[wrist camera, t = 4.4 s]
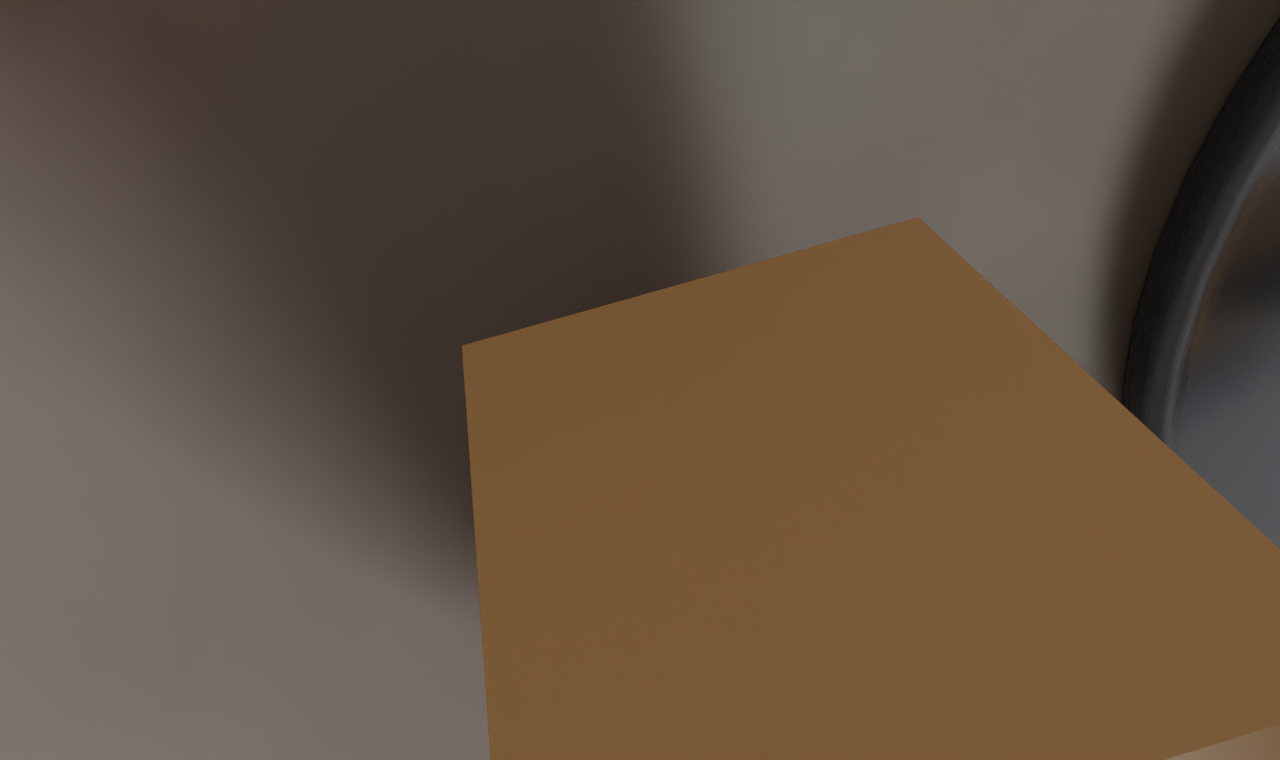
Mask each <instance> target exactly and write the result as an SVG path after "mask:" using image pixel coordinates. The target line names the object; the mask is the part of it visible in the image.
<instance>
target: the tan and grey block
mask: <svg viewBox="0 0 1280 760" xmlns="http://www.w3.org/2000/svg"><path fill="white" fill-rule="evenodd" d="M462 355H463V369H464V384H465V398H466V413H467V427H468V442H469V456H470V471H471V485H472V499H473V514H474V528H475V543H476V557H477V572H478V586H479V601H480V615H481V630H482V644H483V659H484V673H485V688H486V702H487V716H488V731H489V745H490V760H1280V549H1279V548H1278V547H1277V546H1276V545H1275V544H1274V543H1272V542H1271V541H1270V540H1269V539H1268V538H1267V537H1266V536H1265V535H1264V534H1263V533H1262V532H1260V531H1259V530H1258V529H1257V528H1256V527H1255V526H1254V525H1253V524H1252V523H1251V522H1250V521H1248V520H1247V519H1246V518H1245V517H1244V516H1243V515H1242V514H1241V513H1240V512H1239V511H1238V510H1236V509H1235V508H1234V507H1233V506H1232V505H1231V504H1230V503H1229V502H1228V501H1227V500H1226V499H1225V498H1223V497H1222V496H1221V495H1220V494H1219V493H1218V492H1217V491H1216V490H1215V489H1214V488H1213V487H1211V486H1210V485H1209V484H1208V483H1207V482H1206V481H1205V480H1204V479H1203V478H1202V477H1201V476H1199V475H1198V474H1197V473H1196V472H1195V471H1194V470H1193V469H1192V468H1191V467H1190V466H1189V465H1187V464H1186V463H1185V462H1184V461H1183V460H1182V459H1181V458H1180V457H1179V456H1178V455H1177V454H1175V453H1174V452H1173V451H1172V450H1171V449H1170V448H1169V447H1168V446H1167V445H1166V444H1165V443H1163V442H1162V441H1161V440H1160V439H1159V438H1158V437H1157V436H1156V435H1155V434H1154V433H1153V432H1151V431H1150V430H1149V429H1148V428H1147V427H1146V426H1145V425H1144V424H1143V423H1142V422H1141V421H1140V420H1138V419H1137V418H1136V417H1135V416H1134V415H1133V414H1132V413H1131V412H1130V411H1129V410H1128V409H1126V408H1125V407H1124V406H1123V405H1122V404H1121V403H1120V402H1119V401H1118V400H1117V399H1116V398H1114V397H1113V396H1112V395H1111V394H1110V393H1109V392H1108V391H1107V390H1106V389H1105V388H1104V387H1102V386H1101V385H1100V384H1099V383H1098V382H1097V381H1096V380H1095V379H1094V378H1093V377H1092V376H1090V375H1089V374H1088V373H1087V372H1086V371H1085V370H1084V369H1083V368H1082V367H1081V366H1080V365H1078V364H1077V363H1076V362H1075V361H1074V360H1073V359H1072V358H1071V357H1070V356H1069V355H1068V354H1066V353H1065V352H1064V351H1063V350H1062V349H1061V348H1060V347H1059V346H1058V345H1057V344H1056V343H1054V342H1053V341H1052V340H1051V339H1050V338H1049V337H1048V336H1047V335H1046V334H1045V333H1044V332H1043V331H1041V330H1040V329H1039V328H1038V327H1037V326H1036V325H1035V324H1034V323H1033V322H1032V321H1031V320H1029V319H1028V318H1027V317H1026V316H1025V315H1024V314H1023V313H1022V312H1021V311H1020V310H1019V309H1017V308H1016V307H1015V306H1014V305H1013V304H1012V303H1011V302H1010V301H1009V300H1008V299H1007V298H1005V297H1004V296H1003V295H1002V294H1001V293H1000V292H999V291H998V290H997V289H996V288H995V287H993V286H992V285H991V284H990V283H989V282H988V281H987V280H986V279H985V278H984V277H983V276H981V275H980V274H979V273H978V272H977V271H976V270H975V269H974V268H973V267H972V266H971V265H969V264H968V263H967V262H966V261H965V260H964V259H963V258H962V257H961V256H960V255H959V254H957V253H956V252H955V251H954V250H953V249H952V248H951V247H950V246H949V245H948V244H947V243H946V242H944V241H943V240H942V239H941V238H940V237H939V236H938V235H937V234H936V233H935V232H934V231H932V230H931V229H930V228H929V227H928V226H927V225H926V224H925V223H924V222H923V221H922V220H920V219H919V218H918V217H917V218H914V219H910V220H907V221H903V222H899V223H896V224H892V225H889V226H885V227H882V228H878V229H875V230H871V231H867V232H864V233H860V234H857V235H853V236H850V237H846V238H843V239H839V240H835V241H832V242H828V243H825V244H821V245H818V246H814V247H811V248H807V249H803V250H800V251H796V252H793V253H789V254H786V255H782V256H779V257H775V258H771V259H768V260H764V261H761V262H757V263H754V264H750V265H747V266H743V267H739V268H736V269H732V270H729V271H725V272H722V273H718V274H715V275H711V276H707V277H704V278H700V279H697V280H693V281H690V282H686V283H683V284H679V285H675V286H672V287H668V288H665V289H661V290H658V291H654V292H651V293H647V294H643V295H640V296H636V297H633V298H629V299H626V300H622V301H619V302H615V303H611V304H608V305H604V306H601V307H597V308H594V309H590V310H587V311H583V312H579V313H576V314H572V315H569V316H565V317H562V318H558V319H555V320H551V321H547V322H544V323H540V324H537V325H533V326H530V327H526V328H523V329H519V330H515V331H512V332H508V333H505V334H501V335H498V336H494V337H491V338H487V339H483V340H480V341H476V342H473V343H469V344H466V345H462Z"/></svg>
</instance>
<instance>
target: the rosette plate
mask: <svg viewBox="0 0 1280 760" xmlns="http://www.w3.org/2000/svg"><path fill="white" fill-rule="evenodd" d="M1124 407H1125V408H1126V409H1128V410H1129V411H1130V412H1131V413H1132V414H1133V415H1134V416H1135V417H1136V418H1137V419H1138V420H1140V421H1141V422H1142V423H1143V424H1144V425H1145V426H1146V427H1147V428H1148V429H1149V430H1150V431H1151V432H1153V433H1154V434H1155V435H1156V436H1157V437H1158V438H1159V439H1160V440H1161V441H1162V442H1163V443H1165V444H1166V445H1167V446H1168V447H1169V448H1170V449H1171V450H1172V451H1173V452H1174V453H1175V454H1177V455H1178V456H1179V457H1180V458H1181V459H1182V460H1183V461H1184V462H1185V463H1186V464H1187V465H1189V466H1190V467H1191V468H1192V469H1193V470H1194V471H1195V472H1196V473H1197V474H1198V475H1199V476H1201V477H1202V478H1203V479H1204V480H1205V481H1206V482H1207V483H1208V484H1209V485H1210V486H1211V487H1213V488H1214V489H1215V490H1216V491H1217V492H1218V493H1219V494H1220V495H1221V496H1222V497H1223V498H1225V499H1226V500H1227V501H1228V502H1229V503H1230V504H1231V505H1232V506H1233V507H1234V508H1235V509H1236V510H1238V511H1239V512H1240V513H1241V514H1242V515H1243V516H1244V517H1245V518H1246V519H1247V520H1248V521H1250V522H1251V523H1252V524H1253V525H1254V526H1255V527H1256V528H1257V529H1258V530H1259V531H1260V532H1262V533H1263V534H1264V535H1265V536H1266V537H1267V538H1268V539H1269V540H1270V541H1271V542H1272V543H1274V544H1275V545H1276V546H1277V547H1278V548H1279V549H1280V20H1279V22H1278V23H1277V25H1276V26H1275V28H1274V29H1273V31H1272V32H1271V34H1270V35H1269V37H1268V38H1267V40H1266V41H1265V43H1264V44H1263V46H1262V47H1261V49H1260V50H1259V52H1258V53H1257V55H1256V56H1255V58H1254V59H1253V61H1252V62H1251V64H1250V65H1249V67H1248V68H1247V70H1246V71H1245V73H1244V74H1243V76H1242V77H1241V79H1240V80H1239V82H1238V83H1237V85H1236V86H1235V88H1234V90H1233V92H1232V94H1231V96H1230V97H1229V99H1228V101H1227V103H1226V105H1225V107H1224V108H1223V110H1222V112H1221V114H1220V116H1219V118H1218V119H1217V121H1216V123H1215V125H1214V127H1213V129H1212V130H1211V132H1210V134H1209V136H1208V138H1207V140H1206V141H1205V143H1204V145H1203V147H1202V149H1201V151H1200V152H1199V154H1198V156H1197V158H1196V160H1195V162H1194V163H1193V165H1192V167H1191V169H1190V171H1189V173H1188V176H1187V178H1186V180H1185V183H1184V185H1183V187H1182V190H1181V192H1180V194H1179V197H1178V199H1177V201H1176V204H1175V206H1174V209H1173V211H1172V213H1171V216H1170V218H1169V220H1168V223H1167V225H1166V227H1165V230H1164V232H1163V234H1162V237H1161V239H1160V241H1159V244H1158V246H1157V248H1156V252H1155V255H1154V258H1153V262H1152V265H1151V268H1150V272H1149V275H1148V278H1147V282H1146V285H1145V288H1144V291H1143V295H1142V298H1141V301H1140V305H1139V308H1138V311H1137V315H1136V318H1135V322H1134V328H1133V334H1132V340H1131V346H1130V352H1129V358H1128V364H1127V370H1126V376H1125V382H1124Z"/></svg>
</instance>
